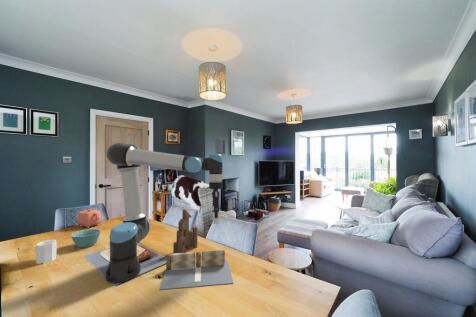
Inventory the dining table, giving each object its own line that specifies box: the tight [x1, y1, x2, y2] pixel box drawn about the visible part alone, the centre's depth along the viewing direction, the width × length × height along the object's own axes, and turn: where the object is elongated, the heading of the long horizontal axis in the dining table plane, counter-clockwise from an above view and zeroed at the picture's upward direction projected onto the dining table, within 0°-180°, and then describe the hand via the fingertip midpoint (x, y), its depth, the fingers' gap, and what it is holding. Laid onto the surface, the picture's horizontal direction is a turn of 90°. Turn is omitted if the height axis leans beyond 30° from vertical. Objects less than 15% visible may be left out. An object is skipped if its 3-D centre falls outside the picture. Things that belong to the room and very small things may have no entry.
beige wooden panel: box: [165, 251, 202, 271], centre depth 109 cm, size 17×2×8 cm, turn 99°
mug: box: [34, 239, 58, 265], centre depth 117 cm, size 12×9×10 cm
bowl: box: [70, 228, 102, 249], centre depth 138 cm, size 16×16×8 cm
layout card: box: [159, 259, 234, 291], centre depth 104 cm, size 32×22×1 cm
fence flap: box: [201, 249, 226, 267], centre depth 111 cm, size 12×2×7 cm, turn 99°
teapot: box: [76, 208, 102, 229], centre depth 178 cm, size 22×13×14 cm, turn 71°
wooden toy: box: [172, 209, 199, 254], centre depth 131 cm, size 15×7×25 cm, turn 152°
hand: (215, 220), depth 119 cm, fingers open, 11 cm apart
